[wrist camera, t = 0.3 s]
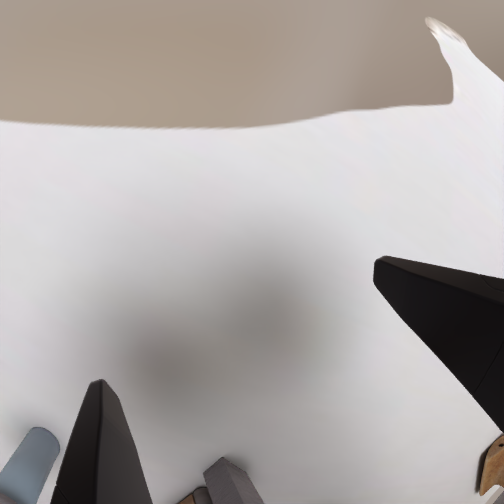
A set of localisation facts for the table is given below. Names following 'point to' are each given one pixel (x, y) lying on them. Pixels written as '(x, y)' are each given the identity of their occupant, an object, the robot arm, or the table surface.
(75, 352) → the table surface
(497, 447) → the tan rounded upright piece
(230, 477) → the hinge post
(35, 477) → the capped peg handle
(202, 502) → the wooden plank
